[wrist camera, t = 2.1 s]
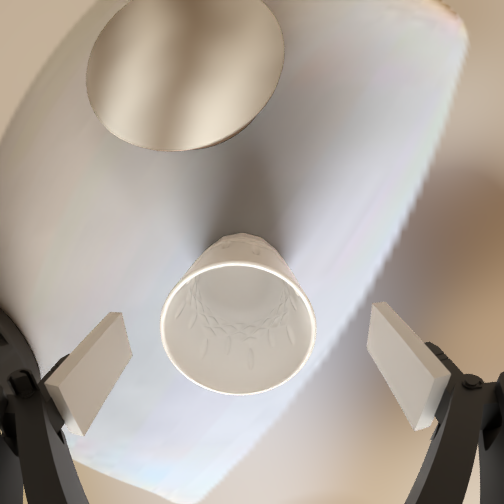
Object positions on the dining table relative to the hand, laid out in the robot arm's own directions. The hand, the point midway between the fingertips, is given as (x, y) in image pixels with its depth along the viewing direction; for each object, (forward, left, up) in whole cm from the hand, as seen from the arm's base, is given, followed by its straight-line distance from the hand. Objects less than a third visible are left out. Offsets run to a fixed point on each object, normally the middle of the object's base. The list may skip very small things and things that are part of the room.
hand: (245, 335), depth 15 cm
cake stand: (-3, +16, -10) cm, 19 cm away
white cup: (0, 0, -10) cm, 10 cm away
